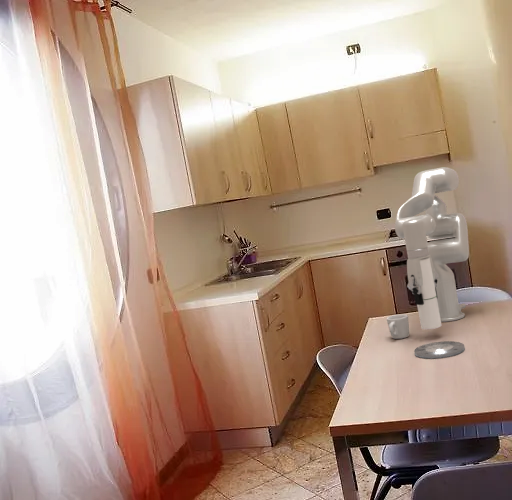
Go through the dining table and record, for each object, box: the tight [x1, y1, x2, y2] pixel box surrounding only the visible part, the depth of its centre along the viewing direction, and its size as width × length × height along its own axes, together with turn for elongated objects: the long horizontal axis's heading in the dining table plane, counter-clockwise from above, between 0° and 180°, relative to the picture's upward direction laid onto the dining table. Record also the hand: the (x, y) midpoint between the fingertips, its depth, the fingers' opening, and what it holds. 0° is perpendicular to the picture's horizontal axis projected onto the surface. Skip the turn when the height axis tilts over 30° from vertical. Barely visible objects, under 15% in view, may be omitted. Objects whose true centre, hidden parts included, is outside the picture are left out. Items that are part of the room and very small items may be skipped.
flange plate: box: [413, 340, 466, 360], centre depth 205 cm, size 16×16×1 cm
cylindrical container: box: [415, 257, 442, 330], centre depth 222 cm, size 7×7×25 cm
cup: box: [386, 313, 410, 340], centre depth 231 cm, size 11×8×8 cm
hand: (426, 301), depth 223 cm, fingers closed on cylindrical container, 7 cm apart
